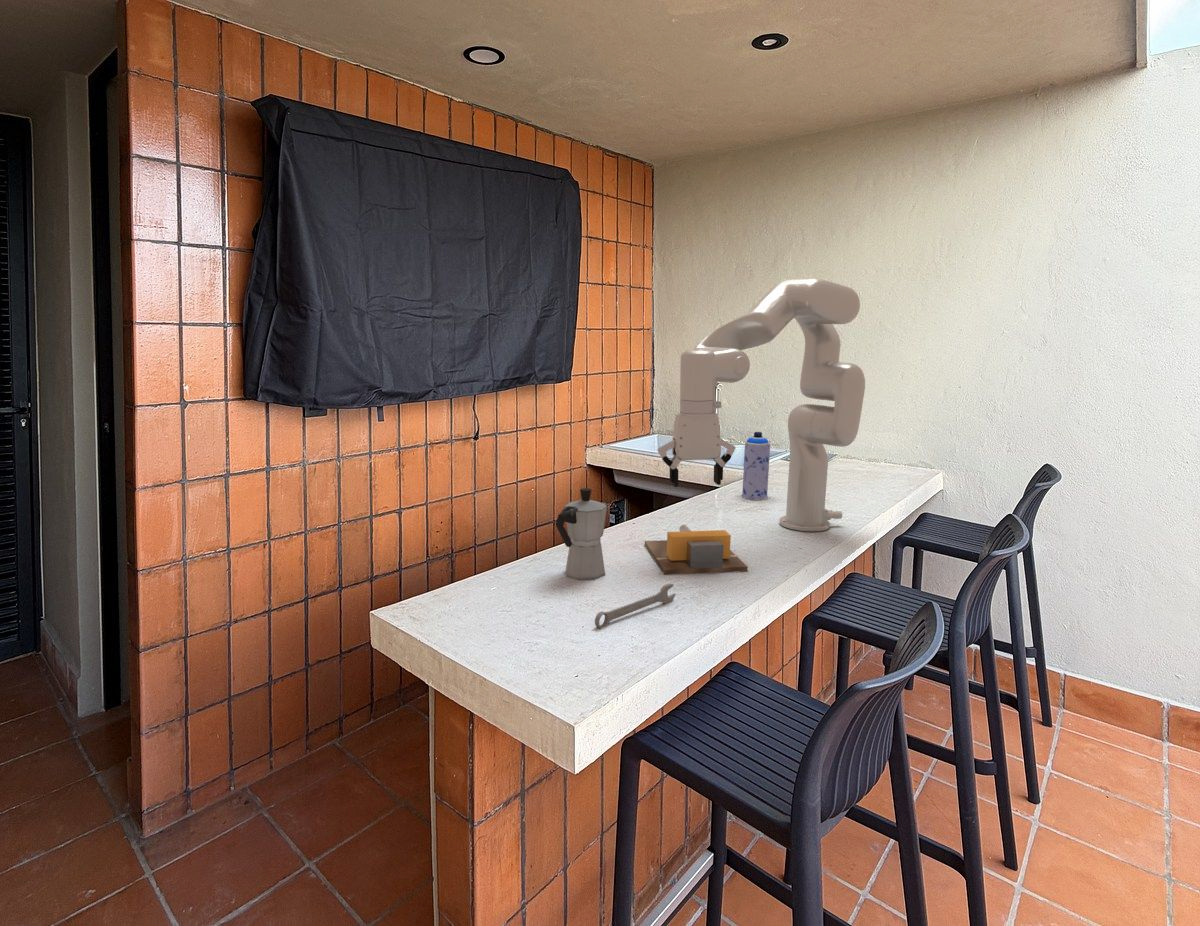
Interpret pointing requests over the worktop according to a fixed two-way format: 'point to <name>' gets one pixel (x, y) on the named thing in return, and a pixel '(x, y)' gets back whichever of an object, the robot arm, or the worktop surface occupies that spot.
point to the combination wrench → (635, 606)
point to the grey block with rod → (703, 553)
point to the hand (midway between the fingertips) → (696, 484)
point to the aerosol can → (756, 468)
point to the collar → (680, 539)
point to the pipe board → (679, 566)
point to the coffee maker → (583, 536)
